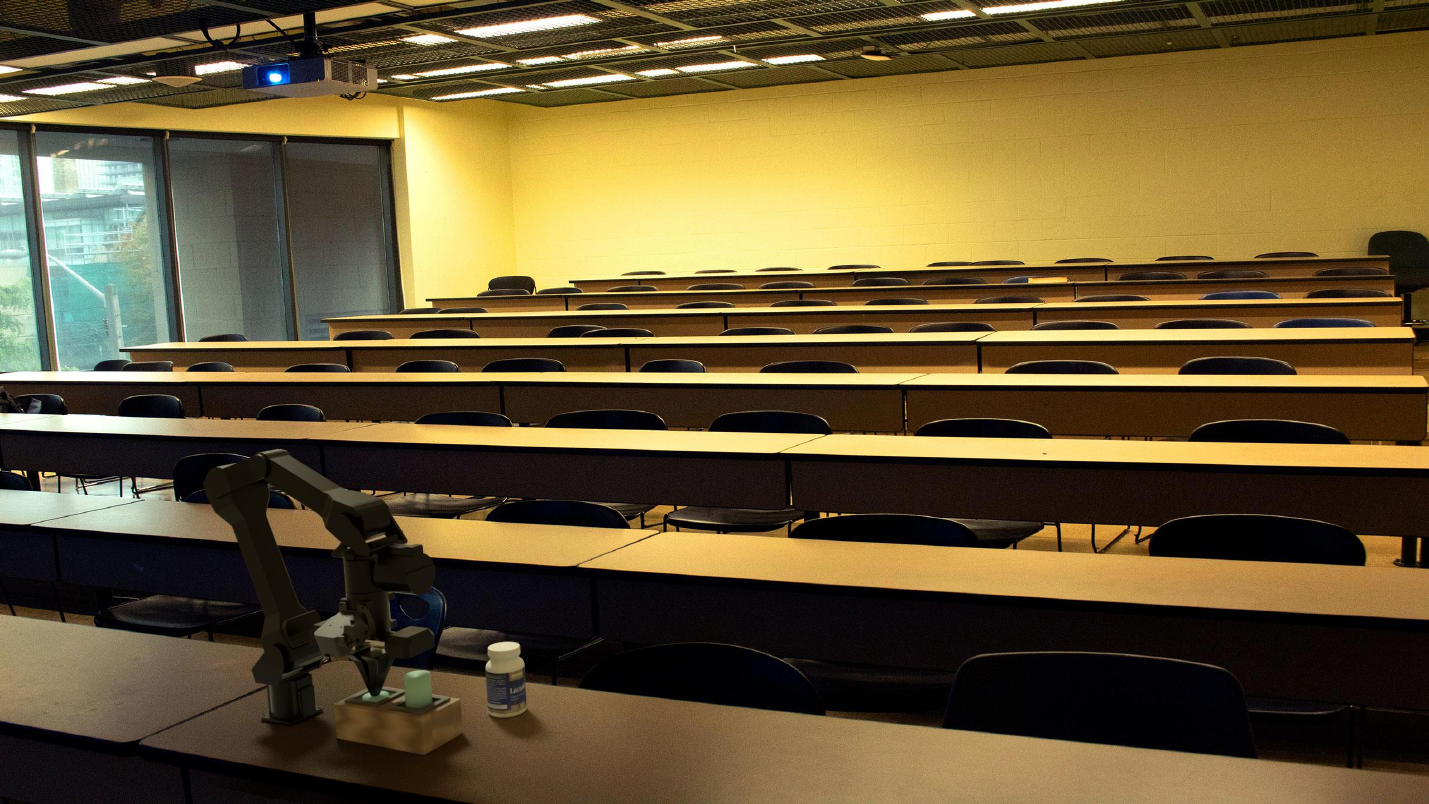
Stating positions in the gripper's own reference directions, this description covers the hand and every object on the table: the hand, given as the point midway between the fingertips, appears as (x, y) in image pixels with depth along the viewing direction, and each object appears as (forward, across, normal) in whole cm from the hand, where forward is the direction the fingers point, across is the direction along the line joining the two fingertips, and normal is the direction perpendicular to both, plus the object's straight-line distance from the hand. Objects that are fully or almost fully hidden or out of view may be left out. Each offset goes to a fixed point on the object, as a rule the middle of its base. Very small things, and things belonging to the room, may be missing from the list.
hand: (375, 695), depth 160 cm
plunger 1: (+5, 0, 0) cm, 5 cm away
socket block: (+5, +4, 0) cm, 7 cm away
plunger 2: (+1, +8, 0) cm, 8 cm away
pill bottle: (+6, +13, +13) cm, 19 cm away
